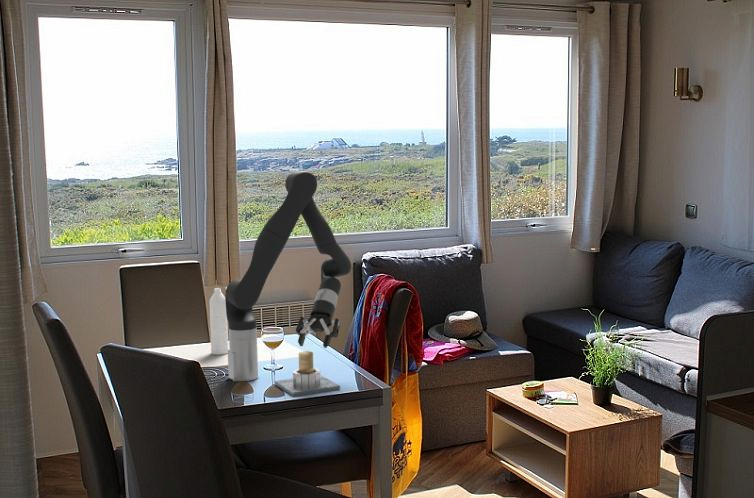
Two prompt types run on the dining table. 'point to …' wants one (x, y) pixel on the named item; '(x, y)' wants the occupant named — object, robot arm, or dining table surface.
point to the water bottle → (218, 323)
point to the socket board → (306, 383)
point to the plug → (305, 362)
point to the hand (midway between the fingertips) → (312, 345)
